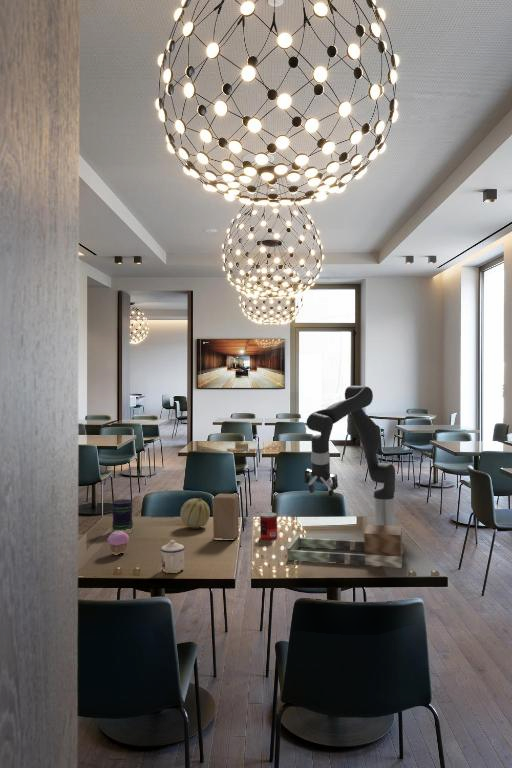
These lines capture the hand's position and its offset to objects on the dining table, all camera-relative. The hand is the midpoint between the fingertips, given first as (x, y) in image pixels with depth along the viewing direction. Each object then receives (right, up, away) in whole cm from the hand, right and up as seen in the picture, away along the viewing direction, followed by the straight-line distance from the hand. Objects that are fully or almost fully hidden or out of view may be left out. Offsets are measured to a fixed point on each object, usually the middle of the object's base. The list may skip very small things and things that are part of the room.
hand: (321, 494), depth 253 cm
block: (-41, -25, +26) cm, 55 cm away
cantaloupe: (-58, -25, +47) cm, 78 cm away
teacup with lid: (-60, -26, -20) cm, 68 cm away
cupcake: (-86, -27, +4) cm, 90 cm away
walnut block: (+24, -25, -9) cm, 36 cm away
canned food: (-22, -25, +26) cm, 42 cm away
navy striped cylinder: (-93, -26, +41) cm, 105 cm away
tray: (+10, -25, -5) cm, 27 cm away
